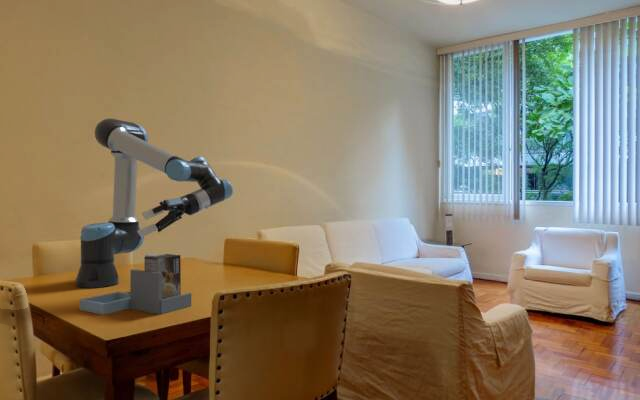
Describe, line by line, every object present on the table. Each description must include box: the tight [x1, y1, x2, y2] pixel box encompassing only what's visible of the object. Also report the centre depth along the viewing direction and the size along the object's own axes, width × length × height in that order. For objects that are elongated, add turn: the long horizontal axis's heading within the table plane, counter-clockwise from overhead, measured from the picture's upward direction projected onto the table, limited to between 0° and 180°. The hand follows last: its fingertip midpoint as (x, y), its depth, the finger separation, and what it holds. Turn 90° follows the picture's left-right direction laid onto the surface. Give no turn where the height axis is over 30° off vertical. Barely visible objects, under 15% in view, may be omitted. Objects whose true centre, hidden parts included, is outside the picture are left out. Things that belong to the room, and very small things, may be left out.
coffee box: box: [144, 253, 182, 299], centre depth 146 cm, size 9×6×16 cm
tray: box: [79, 291, 130, 316], centre depth 144 cm, size 11×14×3 cm
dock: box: [129, 269, 192, 315], centre depth 145 cm, size 13×13×12 cm
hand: (141, 225), depth 160 cm, fingers open, 13 cm apart
